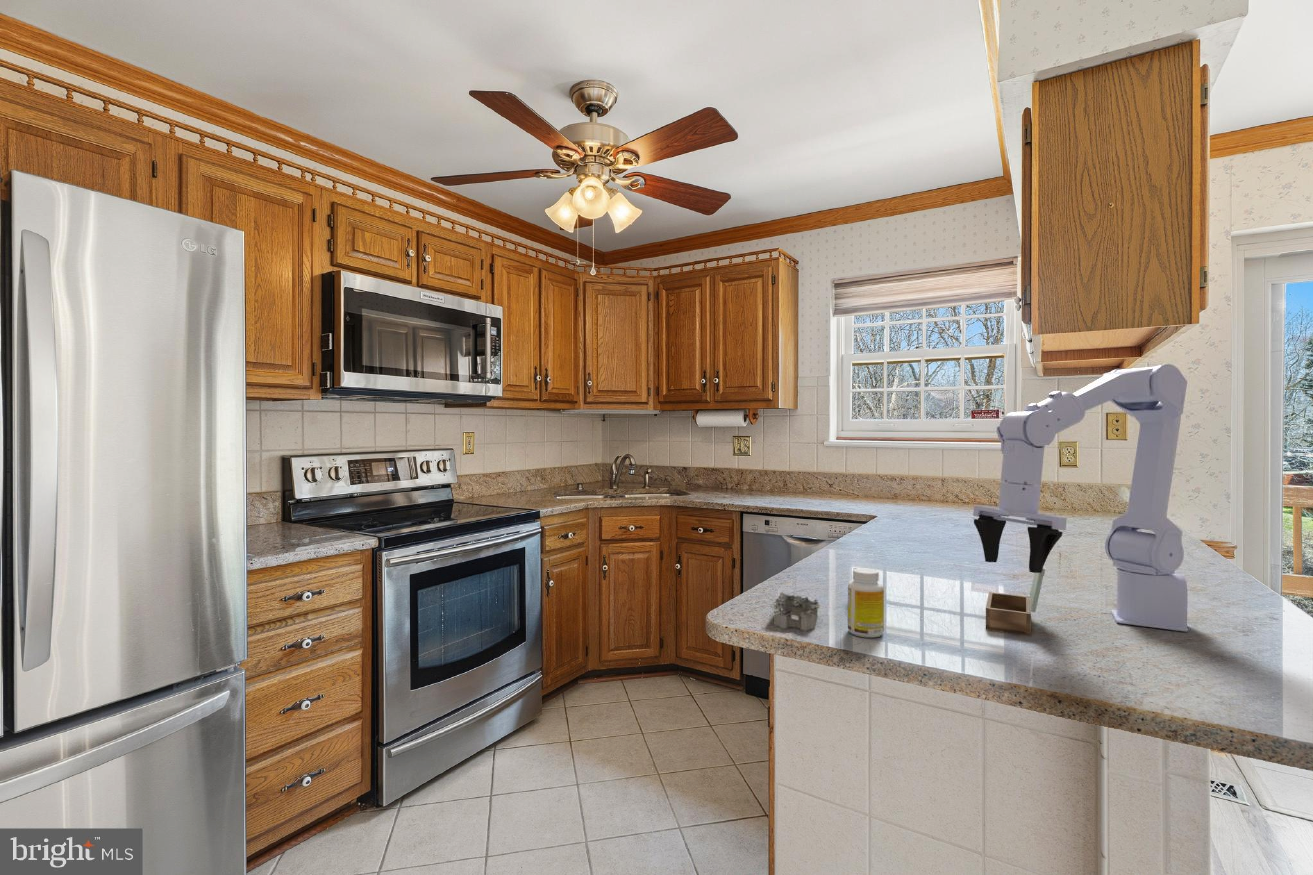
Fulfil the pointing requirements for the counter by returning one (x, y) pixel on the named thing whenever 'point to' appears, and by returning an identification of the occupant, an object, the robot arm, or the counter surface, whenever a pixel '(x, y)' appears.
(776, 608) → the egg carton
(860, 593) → the supplement bottle
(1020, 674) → the counter surface
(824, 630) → the counter surface
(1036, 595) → the lid
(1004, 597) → the box
